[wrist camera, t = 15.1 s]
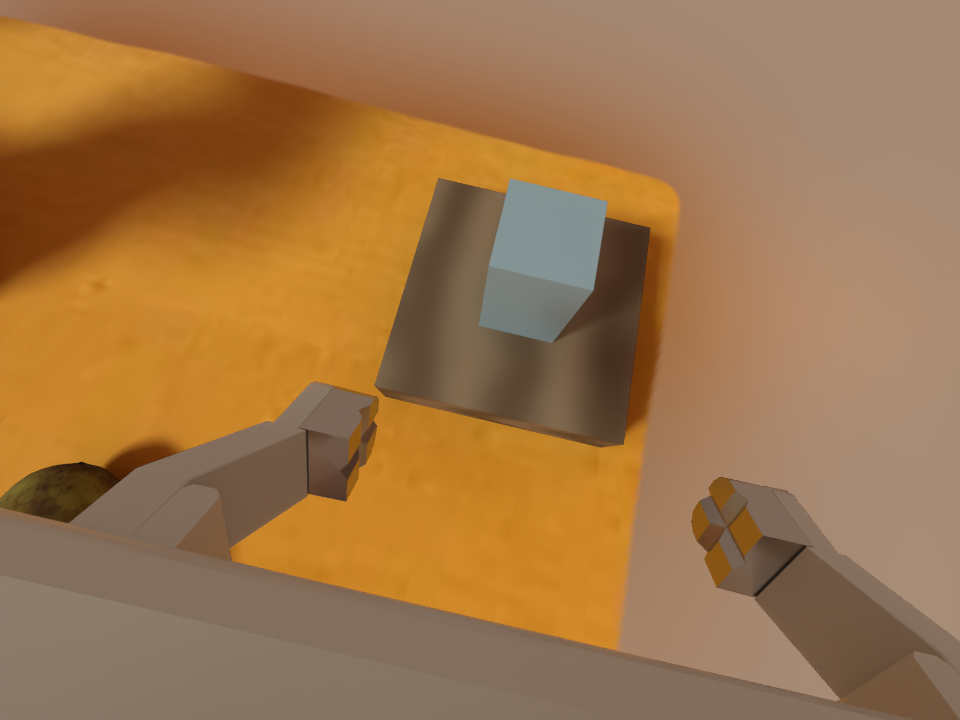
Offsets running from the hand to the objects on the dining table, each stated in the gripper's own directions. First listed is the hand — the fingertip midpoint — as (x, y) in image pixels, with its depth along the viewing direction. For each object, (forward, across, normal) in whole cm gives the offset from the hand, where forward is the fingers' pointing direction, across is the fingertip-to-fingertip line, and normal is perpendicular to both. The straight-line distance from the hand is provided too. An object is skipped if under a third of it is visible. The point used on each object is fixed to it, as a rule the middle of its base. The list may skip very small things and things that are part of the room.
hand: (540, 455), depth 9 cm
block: (+18, 0, +3) cm, 18 cm away
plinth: (+21, 0, +6) cm, 22 cm away
